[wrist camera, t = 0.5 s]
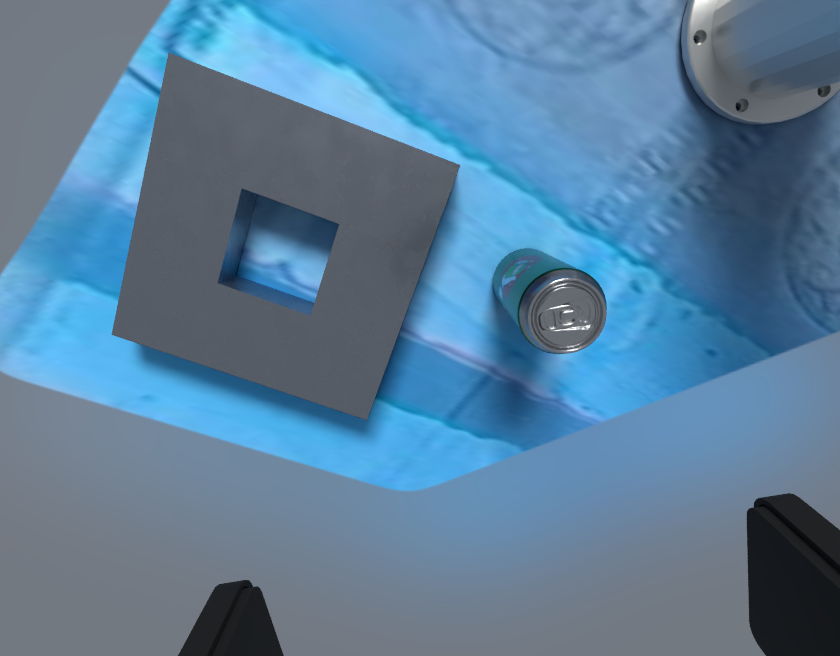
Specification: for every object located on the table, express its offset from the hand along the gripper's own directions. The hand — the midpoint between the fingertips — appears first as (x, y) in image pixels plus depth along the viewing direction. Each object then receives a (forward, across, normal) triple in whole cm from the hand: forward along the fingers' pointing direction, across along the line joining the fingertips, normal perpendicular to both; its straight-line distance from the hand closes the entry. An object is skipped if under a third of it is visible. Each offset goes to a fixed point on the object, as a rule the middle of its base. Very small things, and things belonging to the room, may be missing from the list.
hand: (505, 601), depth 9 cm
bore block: (+30, +11, -6) cm, 33 cm away
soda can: (+31, -6, 0) cm, 31 cm away
